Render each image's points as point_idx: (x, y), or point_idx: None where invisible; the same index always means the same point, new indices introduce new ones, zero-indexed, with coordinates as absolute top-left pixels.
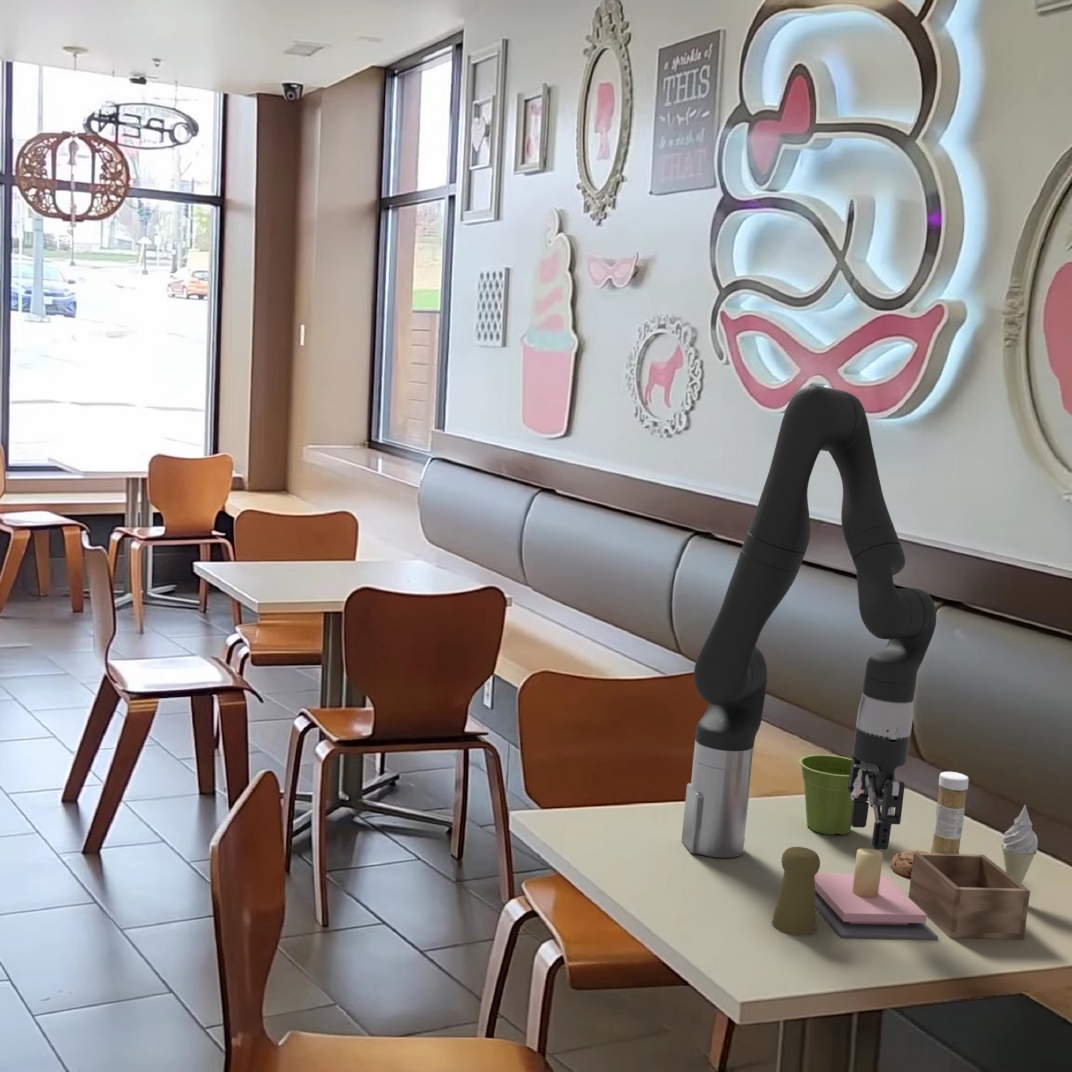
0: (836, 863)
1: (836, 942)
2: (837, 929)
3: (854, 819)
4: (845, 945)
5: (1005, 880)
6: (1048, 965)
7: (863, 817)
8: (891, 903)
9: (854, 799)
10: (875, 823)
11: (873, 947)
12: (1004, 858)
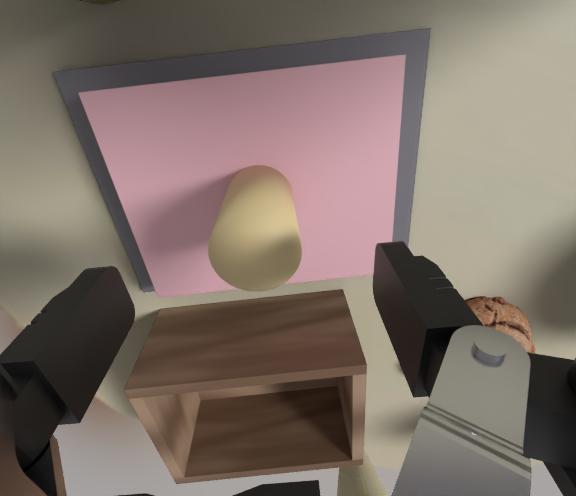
0: (548, 194)
1: (15, 47)
2: (86, 70)
3: (388, 268)
4: (7, 71)
5: (248, 461)
6: (104, 401)
7: (387, 314)
8: (204, 243)
9: (450, 344)
10: (17, 358)
11: (34, 147)
12: (364, 479)
